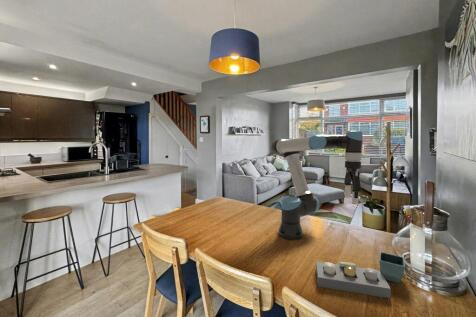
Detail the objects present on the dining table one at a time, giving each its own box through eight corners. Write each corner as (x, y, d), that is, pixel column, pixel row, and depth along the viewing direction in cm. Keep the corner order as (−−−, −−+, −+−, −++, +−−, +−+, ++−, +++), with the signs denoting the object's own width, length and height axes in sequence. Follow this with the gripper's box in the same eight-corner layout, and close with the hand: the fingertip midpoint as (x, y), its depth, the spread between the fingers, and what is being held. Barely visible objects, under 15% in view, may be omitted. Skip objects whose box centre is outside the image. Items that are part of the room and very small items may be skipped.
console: (318, 286, 90) (318, 277, 89) (315, 269, 101) (316, 261, 101) (390, 298, 82) (390, 288, 82) (379, 278, 94) (379, 270, 94)
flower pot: (378, 269, 101) (379, 251, 100) (402, 276, 96) (403, 257, 95) (378, 279, 93) (379, 260, 93) (403, 287, 88) (405, 266, 88)
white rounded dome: (366, 285, 88) (366, 273, 88) (363, 278, 92) (363, 267, 92) (378, 286, 87) (379, 275, 86) (375, 280, 91) (375, 268, 91)
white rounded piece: (324, 278, 92) (324, 267, 92) (323, 272, 97) (323, 261, 96) (335, 280, 91) (335, 268, 91) (333, 273, 95) (334, 263, 95)
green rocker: (340, 267, 95) (340, 263, 95) (339, 265, 98) (339, 261, 98) (355, 270, 93) (355, 265, 94) (354, 267, 96) (354, 263, 96)
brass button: (344, 281, 90) (345, 270, 90) (342, 275, 94) (343, 264, 94) (356, 283, 89) (357, 271, 88) (354, 276, 93) (354, 265, 93)
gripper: (370, 163, 100) (367, 208, 102) (353, 158, 124) (351, 194, 126) (352, 163, 101) (350, 207, 103) (339, 158, 126) (337, 193, 128)
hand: (351, 200), depth 115 cm, fingers open, 13 cm apart
